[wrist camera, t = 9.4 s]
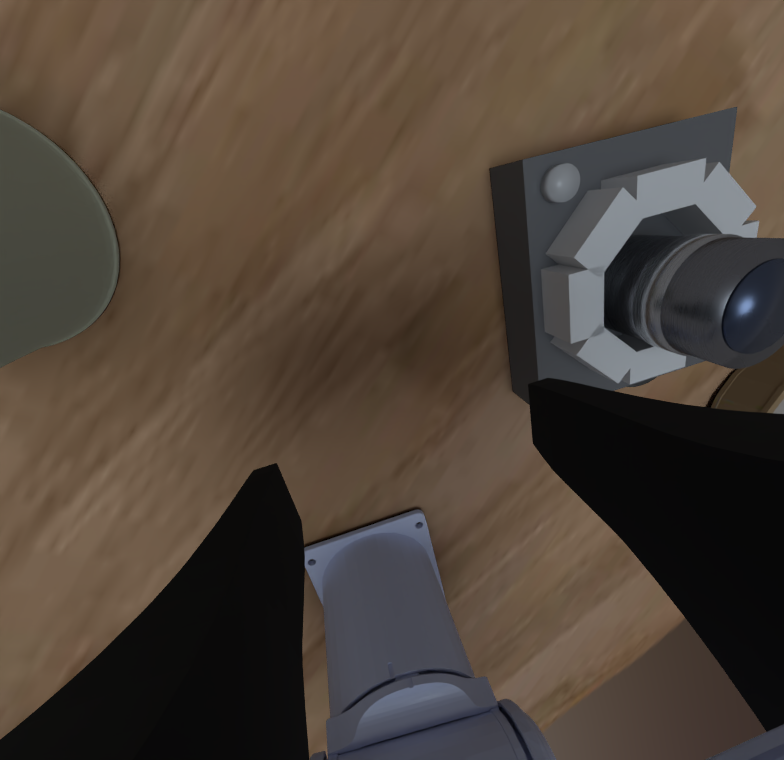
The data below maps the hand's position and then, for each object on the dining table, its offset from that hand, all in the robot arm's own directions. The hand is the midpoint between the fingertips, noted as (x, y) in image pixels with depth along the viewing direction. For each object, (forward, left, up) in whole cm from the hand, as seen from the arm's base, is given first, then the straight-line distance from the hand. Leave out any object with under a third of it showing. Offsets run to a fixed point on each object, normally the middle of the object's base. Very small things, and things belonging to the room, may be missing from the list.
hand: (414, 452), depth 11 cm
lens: (0, -13, -7) cm, 15 cm away
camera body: (0, -13, -10) cm, 17 cm away
